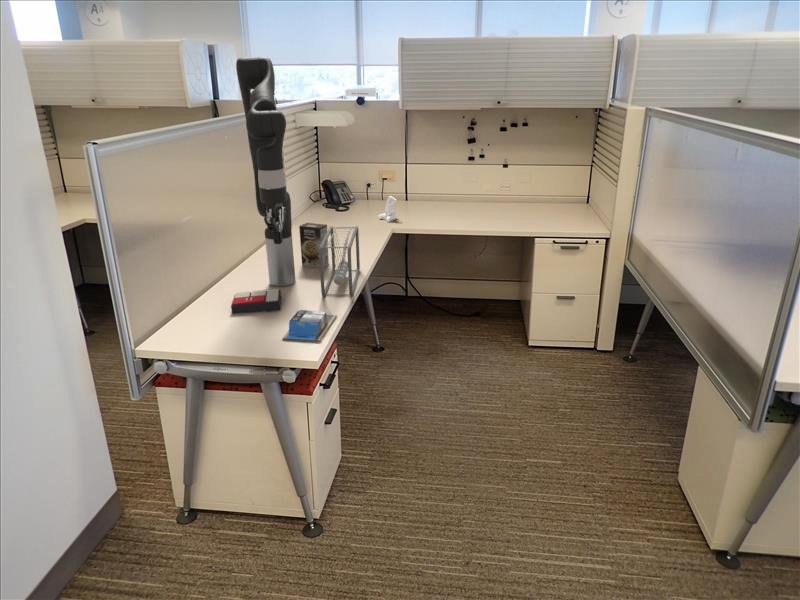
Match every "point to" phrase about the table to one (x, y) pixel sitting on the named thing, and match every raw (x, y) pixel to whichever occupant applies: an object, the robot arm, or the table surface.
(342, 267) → the newton's cradle
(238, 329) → the table surface
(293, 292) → the table surface
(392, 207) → the sitting furry creature
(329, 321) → the mat
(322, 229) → the coffee box
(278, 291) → the black red flat box
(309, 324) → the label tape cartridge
